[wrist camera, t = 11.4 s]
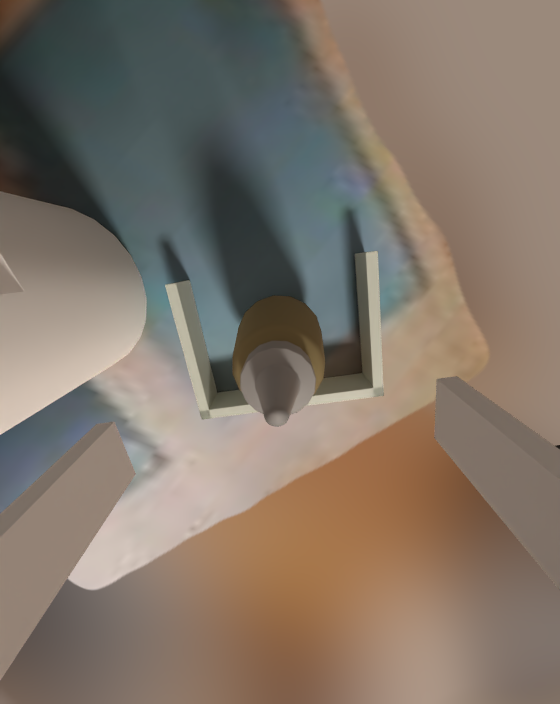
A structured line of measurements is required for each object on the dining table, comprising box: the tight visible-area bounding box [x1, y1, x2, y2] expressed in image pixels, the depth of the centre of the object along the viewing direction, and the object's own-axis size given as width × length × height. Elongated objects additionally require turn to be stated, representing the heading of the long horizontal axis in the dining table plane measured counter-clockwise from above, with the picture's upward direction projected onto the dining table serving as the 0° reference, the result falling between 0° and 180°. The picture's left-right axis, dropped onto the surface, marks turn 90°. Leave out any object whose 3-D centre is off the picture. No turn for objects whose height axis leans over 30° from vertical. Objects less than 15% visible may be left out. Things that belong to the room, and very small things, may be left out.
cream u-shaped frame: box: [165, 251, 384, 419], centre depth 29 cm, size 14×19×4 cm
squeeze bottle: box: [233, 296, 325, 427], centre depth 22 cm, size 8×8×18 cm
